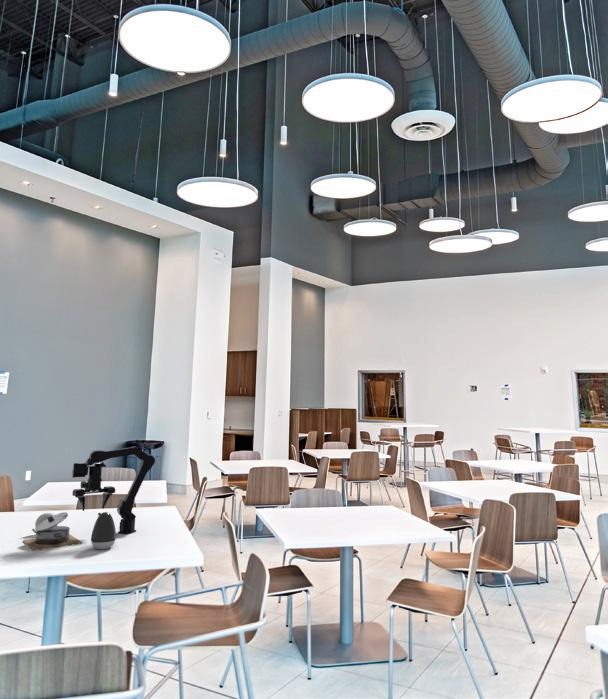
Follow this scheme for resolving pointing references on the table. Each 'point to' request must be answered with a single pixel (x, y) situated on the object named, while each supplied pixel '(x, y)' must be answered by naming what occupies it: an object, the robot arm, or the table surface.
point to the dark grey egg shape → (103, 531)
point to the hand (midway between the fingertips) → (93, 509)
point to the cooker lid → (50, 522)
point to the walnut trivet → (35, 546)
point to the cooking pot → (53, 535)
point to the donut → (43, 518)
